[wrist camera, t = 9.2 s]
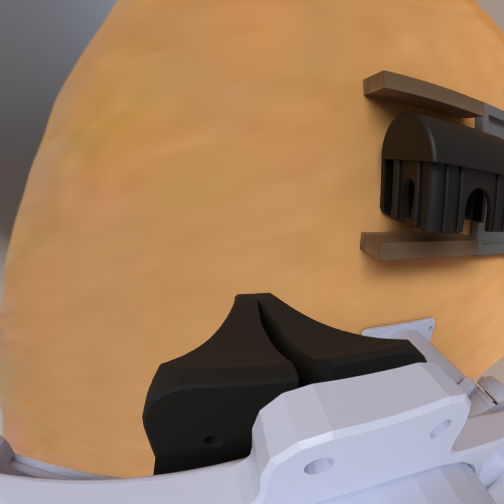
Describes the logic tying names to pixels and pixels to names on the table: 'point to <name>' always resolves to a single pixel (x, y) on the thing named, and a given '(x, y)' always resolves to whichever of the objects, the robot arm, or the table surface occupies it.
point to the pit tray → (489, 242)
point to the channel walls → (437, 100)
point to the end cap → (441, 174)
